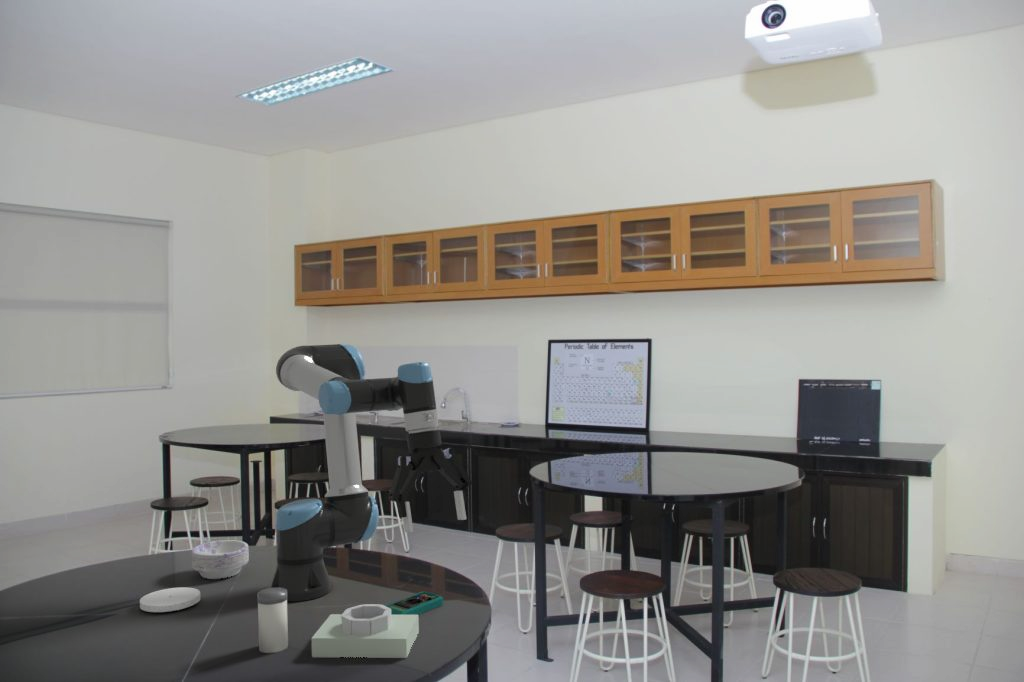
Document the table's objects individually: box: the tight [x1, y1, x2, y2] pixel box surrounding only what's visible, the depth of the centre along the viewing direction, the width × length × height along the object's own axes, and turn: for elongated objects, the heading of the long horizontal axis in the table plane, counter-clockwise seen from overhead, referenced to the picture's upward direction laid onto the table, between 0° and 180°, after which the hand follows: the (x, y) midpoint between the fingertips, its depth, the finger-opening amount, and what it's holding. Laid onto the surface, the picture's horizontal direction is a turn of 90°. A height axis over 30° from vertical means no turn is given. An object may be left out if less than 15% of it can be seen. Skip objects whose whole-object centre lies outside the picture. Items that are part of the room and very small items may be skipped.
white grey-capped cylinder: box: [256, 587, 289, 654], centre depth 174 cm, size 6×6×12 cm
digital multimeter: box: [384, 591, 444, 615], centre depth 195 cm, size 7×15×3 cm, turn 142°
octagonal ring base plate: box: [311, 603, 420, 659], centre depth 174 cm, size 14×20×7 cm
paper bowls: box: [190, 539, 250, 580], centre depth 227 cm, size 15×15×8 cm
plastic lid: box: [139, 586, 201, 613], centre depth 202 cm, size 14×14×2 cm
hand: (436, 525), depth 180 cm, fingers open, 13 cm apart
